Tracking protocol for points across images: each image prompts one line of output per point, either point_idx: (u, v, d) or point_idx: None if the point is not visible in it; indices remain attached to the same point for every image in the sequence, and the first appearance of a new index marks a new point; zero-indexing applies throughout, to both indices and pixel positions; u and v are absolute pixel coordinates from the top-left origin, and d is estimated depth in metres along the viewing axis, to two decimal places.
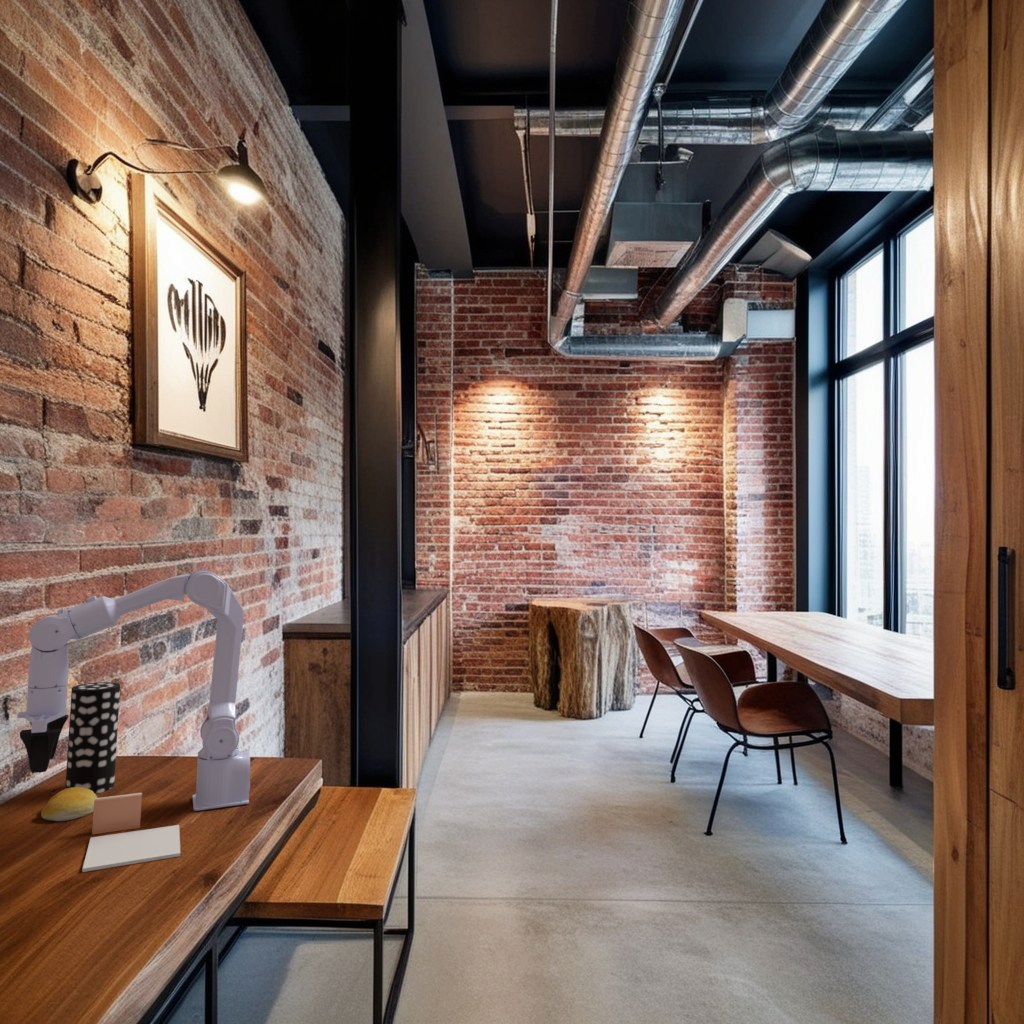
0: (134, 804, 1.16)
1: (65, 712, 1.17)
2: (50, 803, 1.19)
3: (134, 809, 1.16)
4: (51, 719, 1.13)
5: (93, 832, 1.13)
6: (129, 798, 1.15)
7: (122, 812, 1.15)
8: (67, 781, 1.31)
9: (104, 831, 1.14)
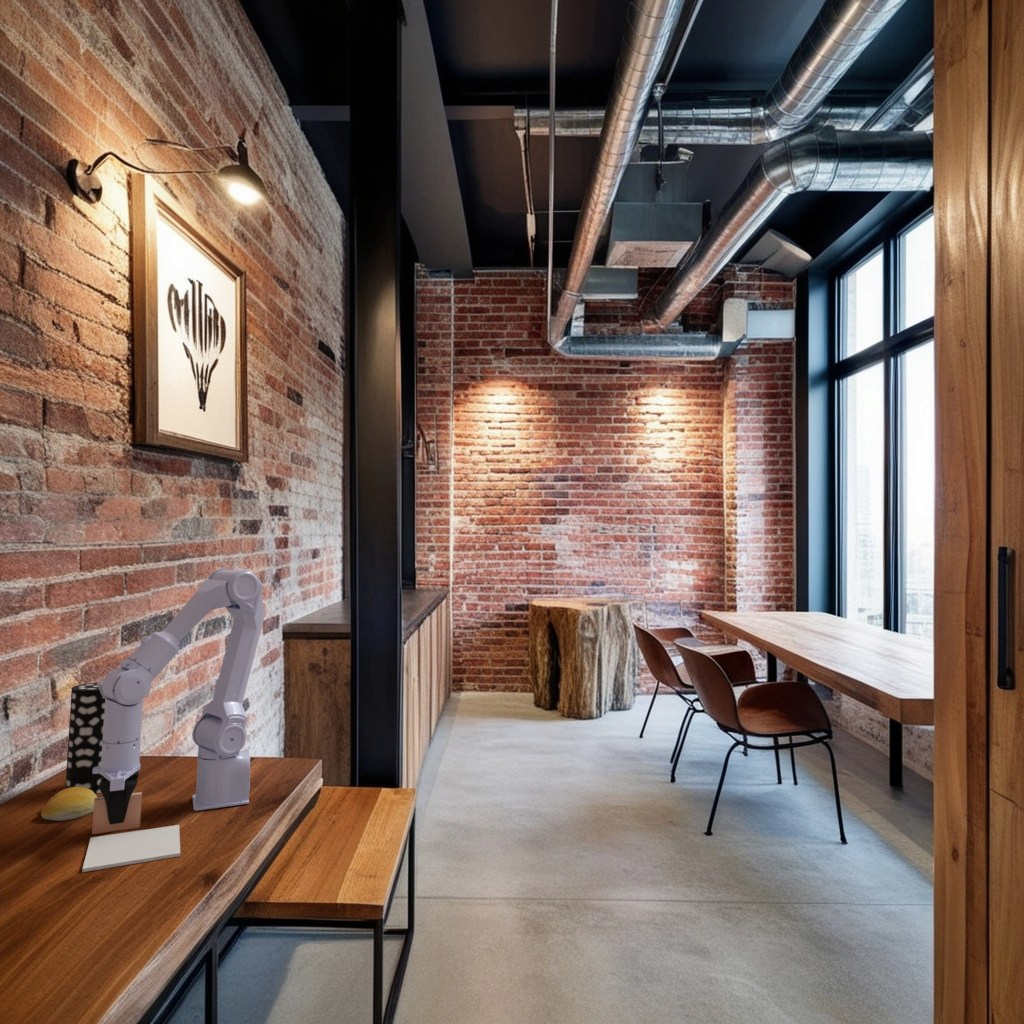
0: (134, 804, 1.16)
1: (139, 766, 1.16)
2: (50, 803, 1.19)
3: (134, 809, 1.16)
4: (128, 775, 1.12)
5: (93, 832, 1.13)
6: None
7: None
8: (67, 781, 1.31)
9: (104, 831, 1.14)
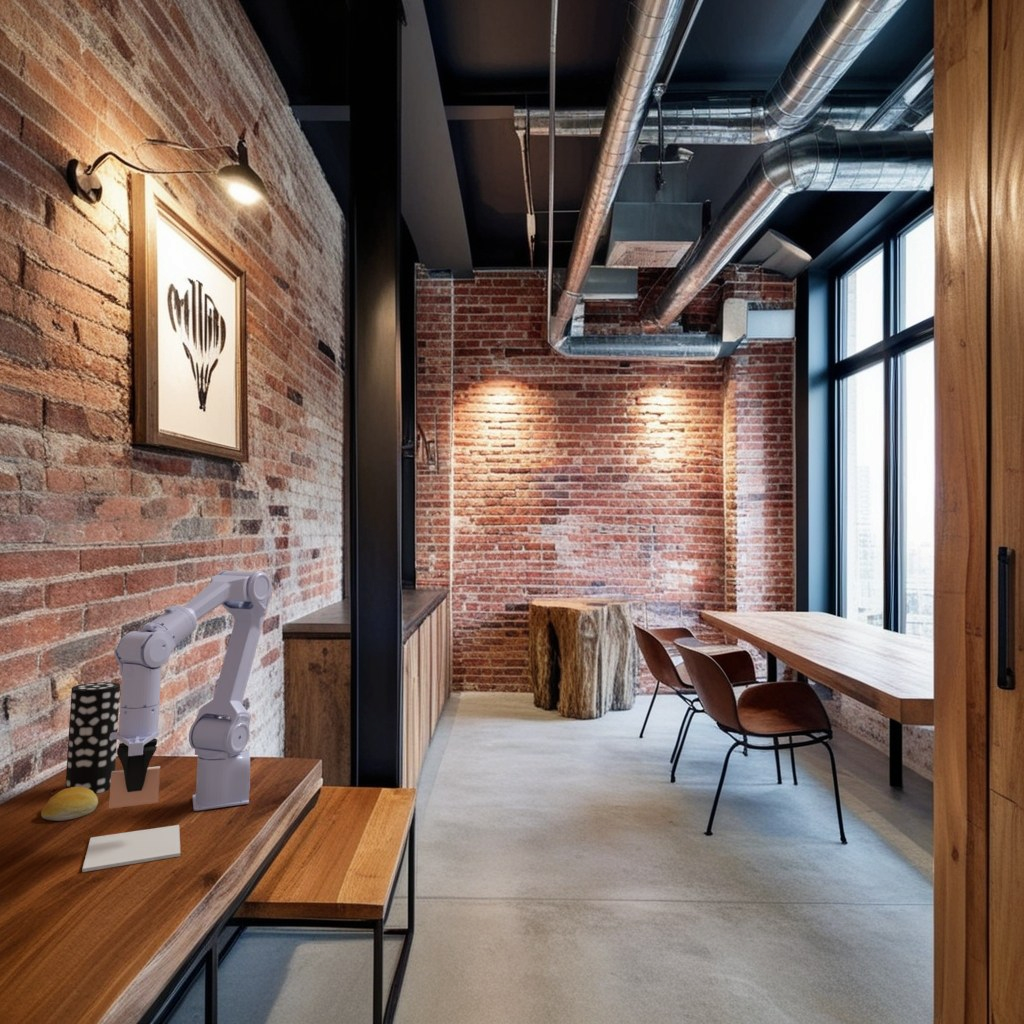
0: (152, 778, 1.11)
1: (158, 733, 1.12)
2: (50, 803, 1.19)
3: (152, 783, 1.11)
4: (146, 741, 1.08)
5: (110, 806, 1.09)
6: (147, 771, 1.11)
7: None
8: (67, 781, 1.31)
9: (121, 805, 1.09)
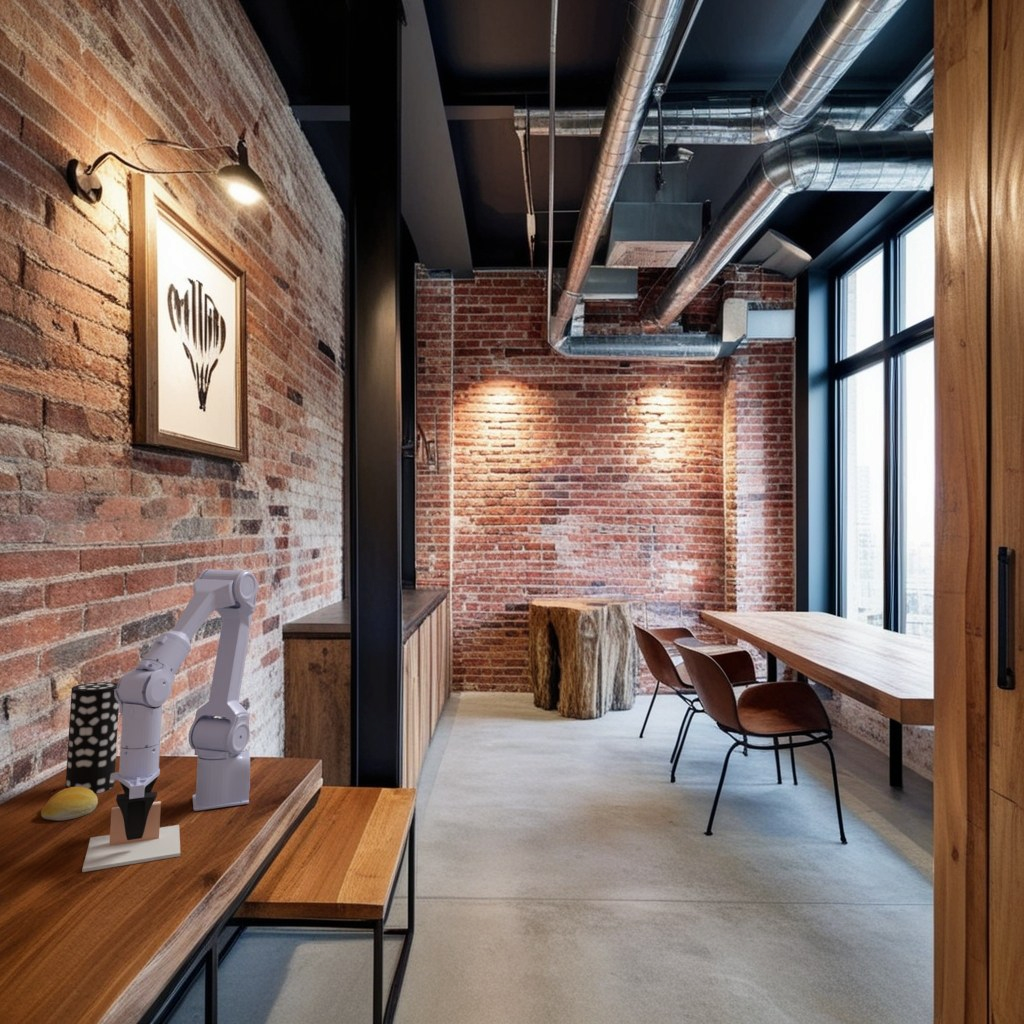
0: (153, 813, 1.10)
1: (158, 772, 1.11)
2: (50, 803, 1.19)
3: (153, 819, 1.10)
4: (147, 782, 1.06)
5: (110, 843, 1.07)
6: None
7: None
8: (67, 781, 1.31)
9: (122, 842, 1.08)
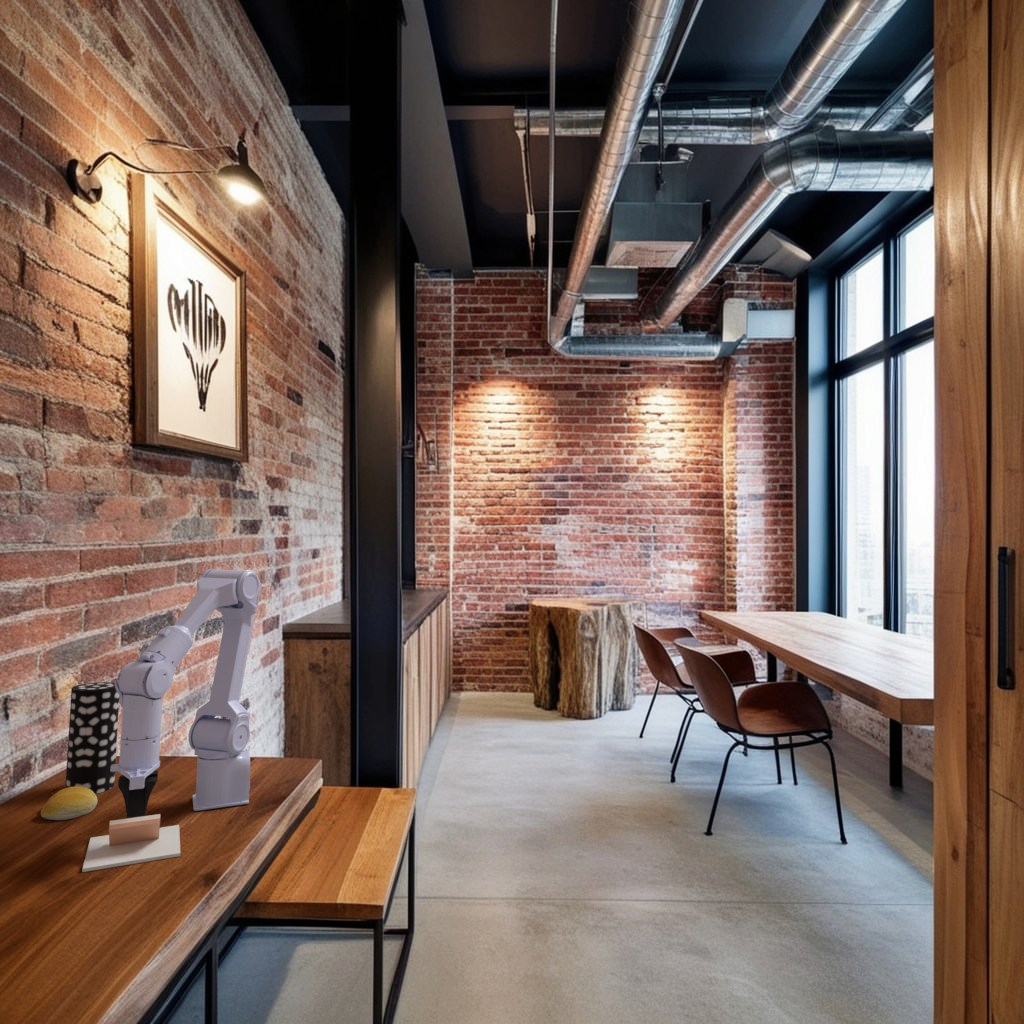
0: (152, 827, 1.08)
1: (159, 764, 1.11)
2: (50, 802, 1.19)
3: (152, 830, 1.08)
4: (148, 773, 1.06)
5: (110, 844, 1.07)
6: (147, 825, 1.07)
7: (140, 832, 1.08)
8: (67, 781, 1.31)
9: (122, 843, 1.08)
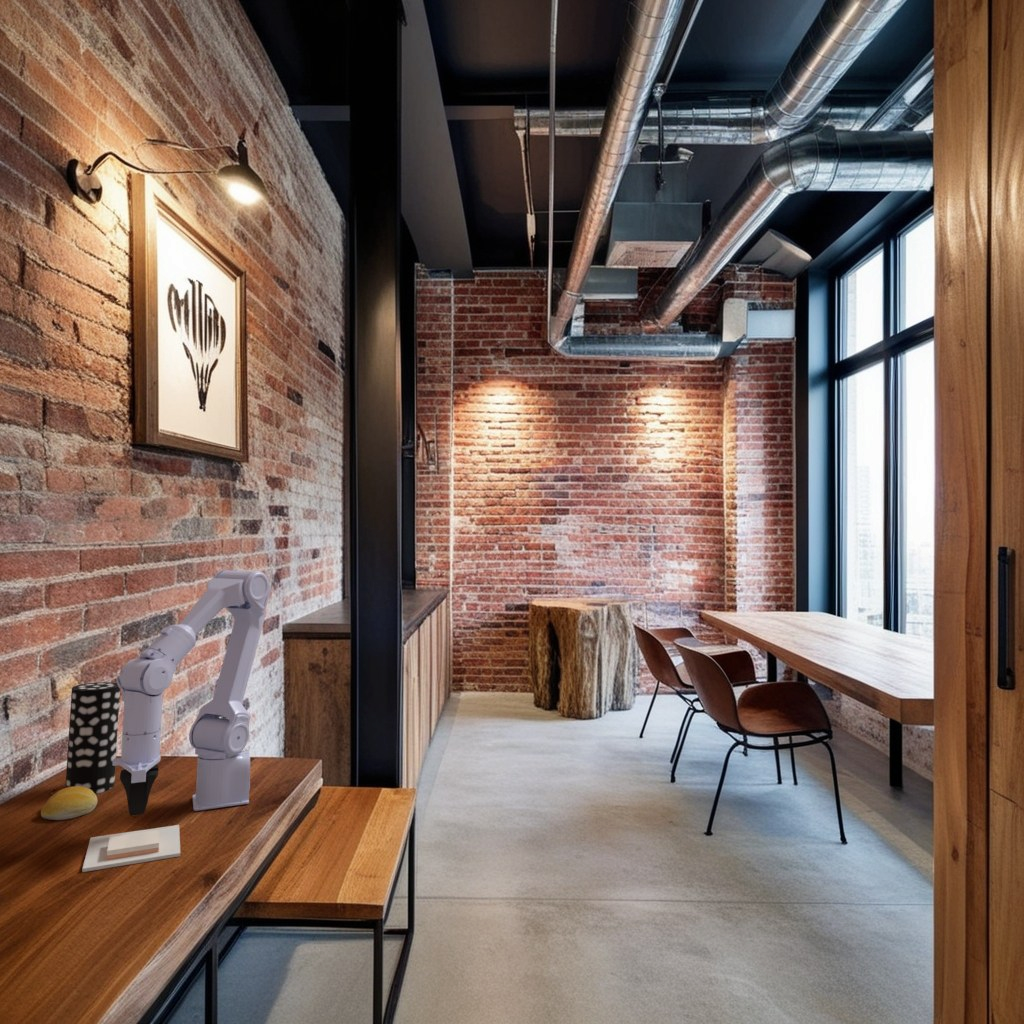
0: None
1: (159, 758, 1.14)
2: (50, 802, 1.19)
3: None
4: (149, 767, 1.10)
5: None
6: None
7: None
8: (67, 781, 1.31)
9: None
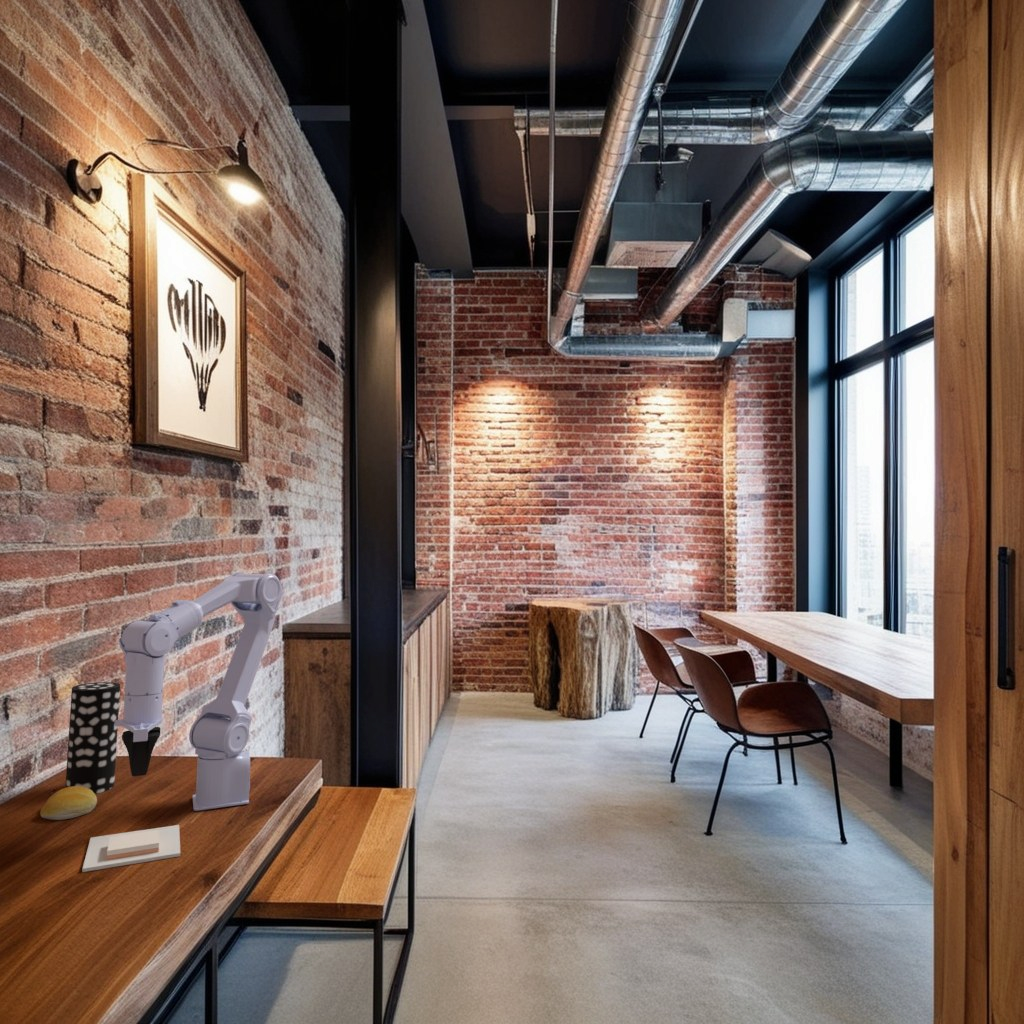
0: None
1: (161, 720, 1.14)
2: (49, 802, 1.19)
3: None
4: (151, 727, 1.10)
5: None
6: None
7: None
8: (67, 781, 1.31)
9: None
